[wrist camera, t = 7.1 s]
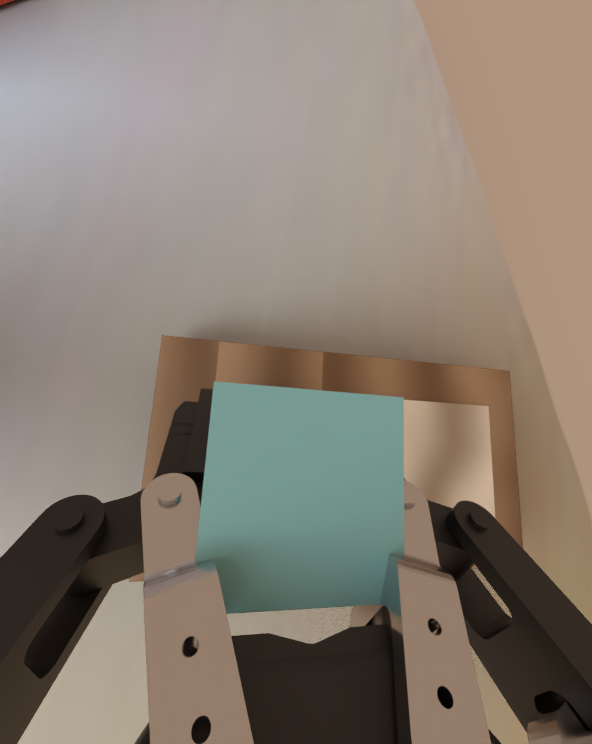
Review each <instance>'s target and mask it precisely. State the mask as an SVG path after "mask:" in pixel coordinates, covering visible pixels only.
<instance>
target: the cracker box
mask: <svg viewBox="0 0 592 744" xmlns="http://www.w3.org/2000/svg"><path fill="white" fill-rule="evenodd" d="M11 1H14V0H0V6H1V5H3V4H6V3H8V2H11Z"/></svg>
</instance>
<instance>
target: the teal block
mask: <svg viewBox="0 0 592 744" xmlns="http://www.w3.org/2000/svg"><path fill="white" fill-rule="evenodd" d="M389 554H391V555H395V556H401V557H404V397H394V396H382V395H370V394H358V393H346V392H334V391H322V390H311V389H299V388H287V387H275V386H263V385H251V384H239V383H227V382H216V381H214V386H213V395H212V405H211V414H210V424H209V433H208V443H207V452H206V462H205V471H204V481H203V490H202V500H201V509H200V519H199V528H198V538H197V547H196V557H195V563H196V562H200V561H205V560H209V559H212V560H213V561H214V562H215V565H216V568H217V572H218V576H219V581H220V586H221V591H222V595H223V600H224V605H225V609H226V614H230V613H246V612H263V611H279V610H295V609H312V608H328V607H344V606H361V605H377V604H380V599H381V594H382V589H383V584H384V578H385V573H386V568H387V563H388V557H389Z"/></svg>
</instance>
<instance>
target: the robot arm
mask: <svg viewBox="0 0 592 744" xmlns="http://www.w3.org/2000/svg"><path fill="white" fill-rule="evenodd" d="M212 395H213V389H211V388H201V391H200V395H199V400H198V402H192V401H184V402H183V403H182V404H181V405H180V406H179V407H178V408H177V409H176V410H175V412H174V416H173V419H172V422H171V426H170V429H169V432H168V436H167V439H166V442H165V446H164V449H163V452H162V456H161V459H160V462H159V466H158V469H157V472H156V475H155V477H154V478H153V480H152V481H151V482H150V483H149V484H148V485H147V486H146V487H145V488H144V489H142V490H141V491H139V492H138V493H136V494H133V495H131V496H128V497H125V498H121V499H118V500H114V501H110V502H106V503H101V502H100V500H98V499H97V498H95V497H93V496H89V495H75V496H70V497H67V498H64V499H62V500H60V501H58V502H56V503H54V504H53V505H51V506H50V507H49V508H47V509H46V510H45V511H44V512H43V513H42V514H41V515H40V516H39V517H38V518H37V519H36V520H35V522H34V523H33V524H32V525H31V526H30V527H29V528H28V529H27V530H26V531H25V532H24V533H23V534H22V535H21V537H20V538H19V539H18V540H17V541H16V542H15V543H14V544H13V545H12V546H11V547H10V548H9V549H8V551H7V552H6V553H5V554H4V555H3V556H2V557H1V558H0V744H17V743H18V741H19V739H20V738H21V736H22V734H23V733H24V731H25V729H26V728H27V726H28V724H29V723H30V721H31V719H32V718H33V716H34V714H35V713H36V711H37V709H38V708H39V706H40V704H41V703H42V701H43V699H44V698H45V696H46V694H47V693H48V691H49V689H50V688H51V686H52V684H53V683H54V681H55V679H56V678H57V676H58V674H59V673H60V671H61V669H62V668H63V666H64V664H65V663H66V661H67V659H68V658H69V656H70V654H71V653H72V651H73V649H74V648H75V646H76V644H77V643H78V641H79V639H80V638H81V636H82V634H83V633H84V631H85V629H86V628H87V626H88V624H89V623H90V621H91V619H92V618H93V616H94V614H95V613H96V611H97V609H98V607H99V606H100V604H101V602H102V601H103V599H104V597H105V596H106V594H107V592H108V591H109V589H110V587H111V586H112V584H114V583H117V582H119V581H122V580H125V579H127V578H130V577H133V576H135V575H138V574H141V573H144V589H143V593H144V619H145V641H146V663H147V684H148V706H149V723H148V724H147V726H146V727H145V729H144V730H143V732H142V733H141V735H140V736H139V738H138V739H137V741H136V742H135V744H501V743H500V742H499V741H498V739H497V738H496V737H495V736H494V735H493V734H492V732H491V731H490V730H489V729H488V726H487V722H486V717H485V713H484V708H483V703H482V699H481V694H480V690H479V685H478V681H477V676H476V671H475V667H474V662H473V658H472V653H471V648H470V645H471V647H472V648H473V650H474V651H475V653H476V654H477V656H478V657H479V659H480V661H481V662H482V664H483V665H484V667H485V668H486V670H487V671H488V673H489V675H490V676H491V678H492V679H493V681H494V682H495V684H496V685H497V687H498V689H499V690H500V692H501V693H502V695H503V696H504V698H505V699H506V701H507V703H508V704H509V706H510V707H511V709H512V710H513V712H514V713H515V715H516V717H517V718H518V720H519V721H520V723H521V724H522V726H523V727H524V729H525V731H526V732H527V736H528V742H529V744H592V624H591V623H590V622H589V621H588V620H587V619H586V618H585V617H584V615H583V614H582V613H581V612H580V611H579V610H578V609H577V608H576V607H575V606H574V604H573V603H572V602H571V601H570V600H569V599H568V598H567V597H566V596H565V595H564V593H563V592H562V591H561V590H560V589H559V588H558V587H557V586H556V585H555V584H554V582H553V581H552V580H551V579H550V578H549V577H548V576H547V575H546V574H545V573H544V571H543V570H542V569H541V568H540V567H539V566H538V565H537V564H536V563H535V562H534V560H533V559H532V558H531V557H530V556H529V555H528V554H527V553H526V552H525V551H524V549H523V548H522V547H521V546H520V545H519V544H518V543H517V542H516V541H515V540H514V538H513V537H512V536H511V535H510V534H509V533H508V532H507V531H506V530H505V529H504V527H503V526H502V525H501V524H500V523H499V522H498V521H497V520H496V519H495V518H494V516H493V515H492V514H491V513H490V512H489V511H487V510H486V509H485V508H483V507H482V506H480V505H479V504H477V503H474V502H471V501H460V502H458V503H457V504H456V505H455V506H454V507H453V508H450V507H447V506H444V505H441V504H438V503H435V502H432V501H429V500H427V499H426V497H425V495H424V494H423V493H422V491H421V490H420V489H419V488H418V487H416V486H415V485H414V484H412V483H410V482H408V481H406V480H405V478H404V557H401V556H395V555H391V554H389V557H388V563H387V568H386V573H385V578H384V584H383V589H382V594H381V599H380V604H377V605H361V606H353V608H352V613H351V618H350V628H348V629H346V630H344V631H341V632H339V633H337V634H335V635H333V636H331V637H329V638H326V639H324V640H322V641H320V642H318V643H315V644H307V643H303V642H300V641H296V640H292V639H288V638H284V637H280V636H277V635H273V634H269V633H266V634H253V635H240V636H231V633H230V628H229V624H228V619H227V614H226V609H225V605H224V600H223V595H222V591H221V586H220V581H219V576H218V572H217V568H216V565H215V562H214V561H213V560H212V559H209V560H205V561H200V562H196V563H195V557H196V547H197V538H198V528H199V519H200V509H201V500H202V490H203V481H204V471H205V462H206V452H207V443H208V433H209V424H210V414H211V405H212ZM474 565H476V567H477V568H478V569H479V571H480V572H481V573H482V574H483V576H484V577H485V578H486V580H487V581H488V582H489V584H490V585H491V586H492V587H493V589H494V590H495V591H496V593H497V594H498V595H499V597H500V598H501V599H502V600H503V602H504V603H505V604H506V606H507V607H508V609H509V610H510V613H511V615H512V618H511V617H510V616H508V615H507V614H506V613H505V612H504V611H503V610H502V609H501V607H500V606H499V605H498V603H497V602H496V601H495V599H494V598H493V597H492V595H491V594H490V593H489V591H488V590H487V589H486V587H485V586H484V585H483V583H482V582H481V581H480V579H479V578H478V577H477V575H476V574H475V573H474V571H473V570H472V569H471V568H472V567H473V566H474Z"/></svg>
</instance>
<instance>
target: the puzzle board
mask: <svg viewBox="0 0 592 744" xmlns="http://www.w3.org/2000/svg"><path fill="white" fill-rule="evenodd" d="M214 381H216V382H227V383H239V384H251V385H263V386H275V387H287V388H299V389H311V390H322V391H334V392H346V393H358V394H370V395H382V396H394V397H404V478H405V480H406V481H408V482H410V483H412V484H414V485H415V486H416V487H418V488H419V489H420V490H421V491H422V493H423V494H424V495H425V497H426V499H427V500H429V501H432V502H435V503H438V504H441V505H444V506H447V507H450V508H453V507H454V506H455V505H456V504H457V503H458V502H460V501H471V502H474V503H477V504H479V505H480V506H482V507H483V508H485V509H486V510H487V511H489V512H490V513H491V514H492V515H493V516H494V518H495V519H496V520H497V521H498V522H499V523H500V524H501V525H502V526H503V527H504V529H505V530H506V531H507V532H508V533H509V534H510V535H511V536H512V537H513V538H514V540H515V541H516V542H517V543H518V544H519V545H520V546H521V547H522V548H523V543H522V529H521V516H520V503H519V489H518V476H517V463H516V450H515V436H514V423H513V410H512V397H511V383H510V371H504V370H495V369H485V368H475V367H465V366H456V365H446V364H436V363H426V362H417V361H407V360H397V359H387V358H378V357H368V356H358V355H348V354H339V353H329V352H319V351H310V350H300V349H290V348H280V347H271V346H261V345H251V344H241V343H232V342H222V341H212V340H202V339H193V338H183V337H173V336H163V335H162V342H161V349H160V357H159V364H158V371H157V379H156V386H155V393H154V401H153V408H152V415H151V423H150V430H149V437H148V445H147V452H146V459H145V467H144V474H143V481H142V489H144V488H145V487H146V486H147V485H148V484H149V483H150V482H151V481H152V480H153V478H154V477H155V475H156V472H157V469H158V466H159V462H160V459H161V456H162V452H163V449H164V446H165V442H166V439H167V436H168V432H169V429H170V426H171V422H172V419H173V416H174V412H175V410H176V409H177V408H178V407H179V406H180V405H181V404H182V403H183V402H184V401H192V402H198V400H199V395H200V391H201V388H211V389H213V386H214ZM142 489H141V490H142ZM471 569H478V568H477V567H476V565H474V566H473V567H472V568H471ZM135 581H144V573H141V574H138V575H135V576H133V577H130V578H129V582H135Z"/></svg>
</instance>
